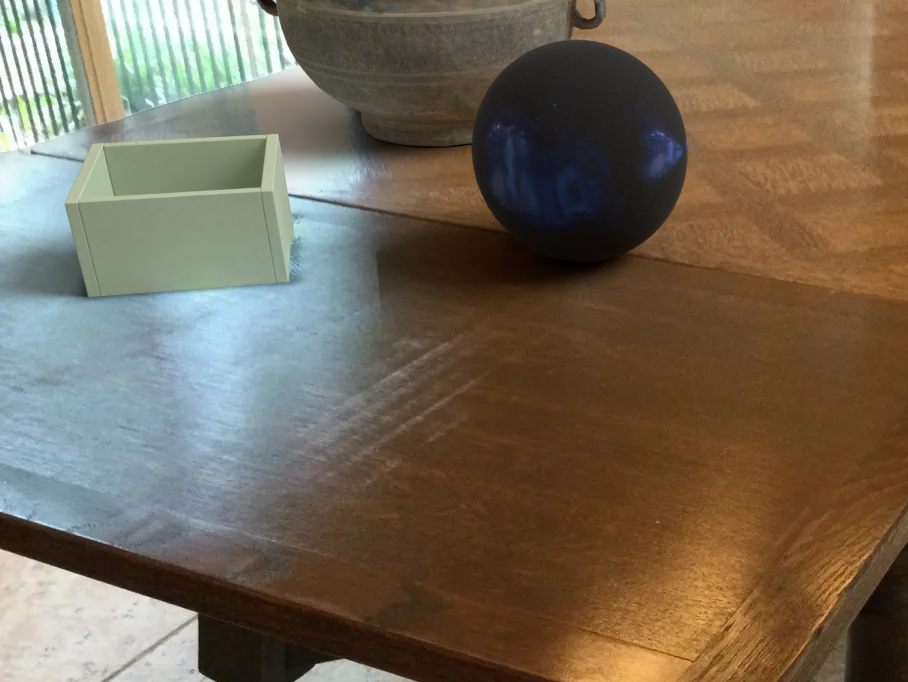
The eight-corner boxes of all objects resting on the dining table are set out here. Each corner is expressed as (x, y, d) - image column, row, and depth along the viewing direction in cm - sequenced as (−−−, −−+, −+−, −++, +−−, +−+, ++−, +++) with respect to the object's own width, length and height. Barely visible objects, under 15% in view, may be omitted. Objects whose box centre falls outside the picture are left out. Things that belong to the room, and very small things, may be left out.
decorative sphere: (459, 290, 93) (437, 67, 85) (504, 215, 105) (489, 14, 97) (677, 299, 92) (676, 75, 84) (695, 223, 105) (697, 21, 96)
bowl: (213, 155, 116) (178, -29, 108) (329, 78, 138) (307, -80, 130) (577, 179, 113) (569, -10, 105) (637, 96, 135) (634, -66, 126)
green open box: (92, 315, 88) (63, 203, 84) (116, 246, 99) (91, 143, 94) (291, 300, 91) (273, 190, 87) (294, 234, 101) (278, 133, 97)
